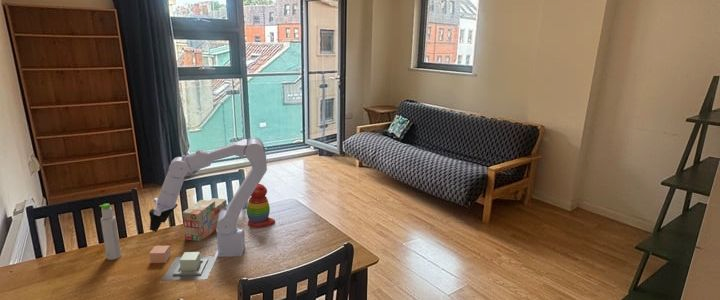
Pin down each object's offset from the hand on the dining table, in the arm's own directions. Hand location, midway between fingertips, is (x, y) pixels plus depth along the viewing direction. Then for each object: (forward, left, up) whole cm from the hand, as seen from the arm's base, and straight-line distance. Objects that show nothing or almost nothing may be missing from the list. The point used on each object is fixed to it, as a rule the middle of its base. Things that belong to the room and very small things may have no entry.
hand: (157, 225), depth 139 cm
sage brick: (-12, +7, -12) cm, 19 cm away
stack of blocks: (-10, -22, -13) cm, 28 cm away
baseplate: (-12, +7, -13) cm, 19 cm away
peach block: (0, +1, -13) cm, 13 cm away
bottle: (+17, -2, -13) cm, 21 cm away
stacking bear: (-30, -27, -13) cm, 42 cm away
